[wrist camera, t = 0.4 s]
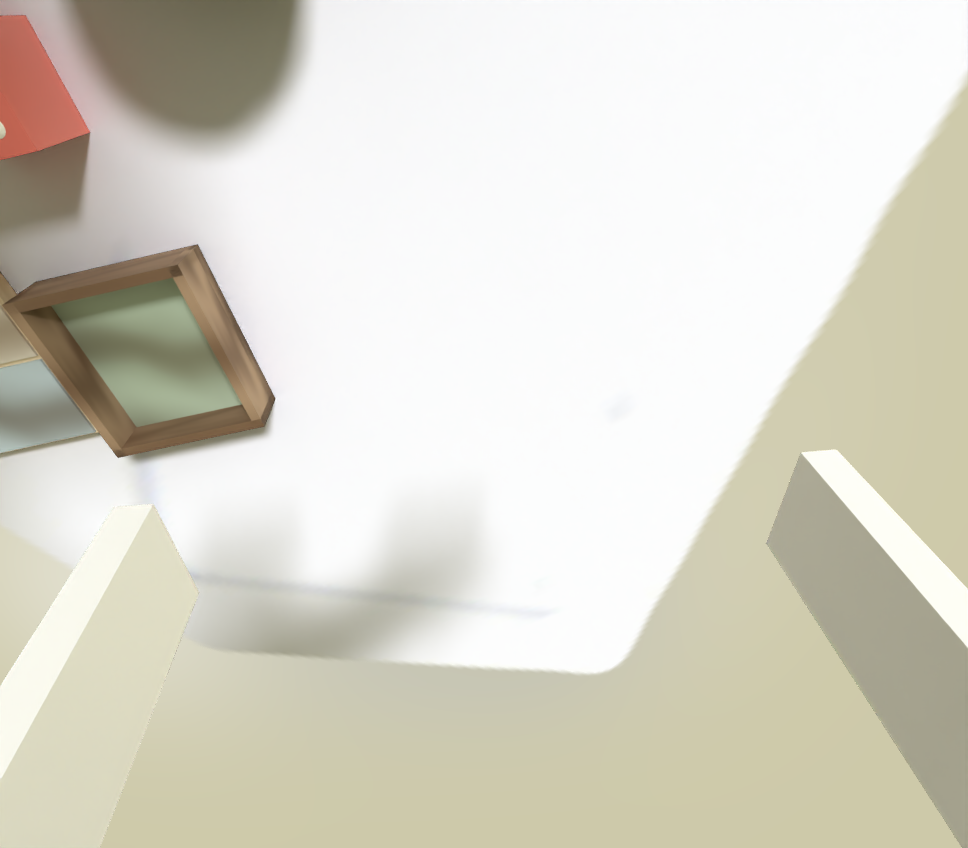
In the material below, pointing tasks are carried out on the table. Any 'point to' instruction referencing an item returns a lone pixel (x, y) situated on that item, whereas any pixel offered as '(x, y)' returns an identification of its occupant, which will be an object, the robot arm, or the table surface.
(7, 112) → the die
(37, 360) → the board
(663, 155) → the table surface
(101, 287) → the dice tray
